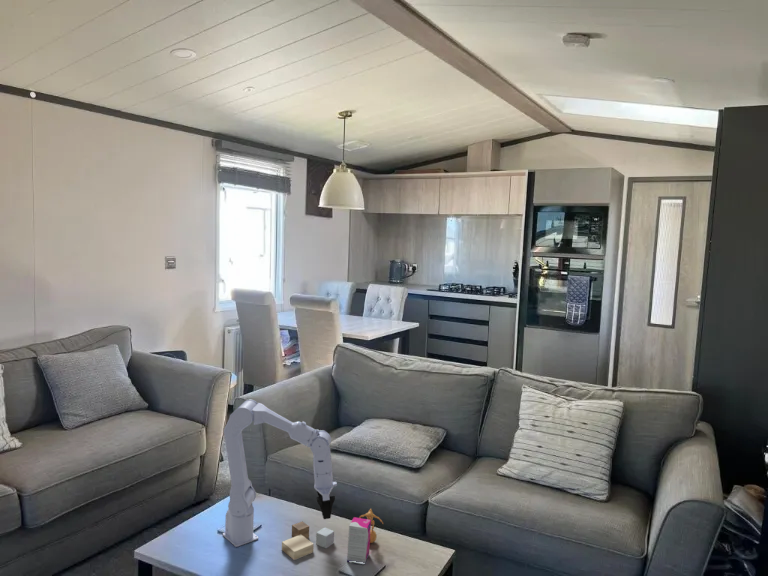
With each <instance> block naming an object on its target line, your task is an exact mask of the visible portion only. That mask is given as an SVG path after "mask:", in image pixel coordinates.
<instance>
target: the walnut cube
mask: <svg viewBox="0 0 768 576" xmlns="http://www.w3.org/2000/svg"><path fill="white" fill-rule="evenodd" d="M298 535H302V536H304V537H305V538H306V539H309V538H310V525H308V524H307V523H305V521H303V520H302V521H299V522H297V523H296V522H295V523H294V524H292V525H291V538H293V537H296V536H298Z"/></svg>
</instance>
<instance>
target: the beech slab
mask: <svg viewBox="0 0 768 576" xmlns="http://www.w3.org/2000/svg"><path fill="white" fill-rule="evenodd" d="M314 545H315V543H313V541H310V540H309V538H307V539H306V538H305V537H304V536H302V535H298V536H296V537H290V538H288V539H286V540H283V541H281V551H282V552H283V553H285V554H286V555H287V556H288V557H290V558H291V559H292V560H294V561H295V560H298V559H301V558H302V557H305V556H307V555H309V554H310V555H311V554H312V553H314V547H315V546H314Z"/></svg>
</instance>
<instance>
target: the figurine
mask: <svg viewBox="0 0 768 576" xmlns="http://www.w3.org/2000/svg"><path fill="white" fill-rule="evenodd" d="M364 517H366V519H368V520H371V530H370V544H373V543H374V542H376V540H377V532H376V531H375V530H374V528H375V527H374V526H375V520H373V518H375V519H376V520H379V521H380V523H382V525H384V522H383V520H382V519H381V518H380V517H379V516H377V515H375V514H374V512H373V510H372V508H370V509H369V510H368V512H366V513H365V514H361V515H359V517H358V518H364Z"/></svg>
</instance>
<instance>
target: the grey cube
mask: <svg viewBox="0 0 768 576" xmlns="http://www.w3.org/2000/svg"><path fill="white" fill-rule="evenodd" d="M315 533H316V536H315V537H316V538H315V539H316V541H315V545H317V546H319V547H322V548H324V549H327V548H329V547H330V546H332V545H333V544H334V543H335V531H334V530H332V529H330V528H327V527H323V528H321V529H320V530H318V531H316V532H315Z"/></svg>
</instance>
